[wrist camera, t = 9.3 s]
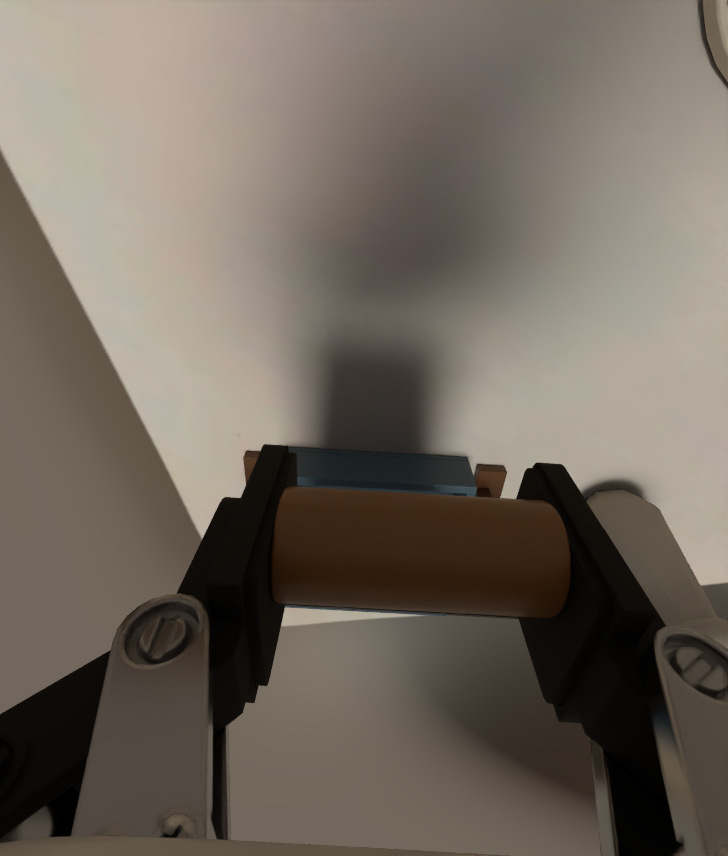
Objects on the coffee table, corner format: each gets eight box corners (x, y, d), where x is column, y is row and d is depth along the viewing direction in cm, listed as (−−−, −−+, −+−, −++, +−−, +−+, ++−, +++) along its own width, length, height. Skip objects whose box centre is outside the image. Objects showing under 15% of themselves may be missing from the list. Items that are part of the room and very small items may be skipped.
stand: (245, 451, 31) (212, 522, 25) (504, 465, 31) (537, 540, 25) (251, 504, 34) (222, 581, 27) (490, 517, 34) (517, 597, 27)
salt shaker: (550, 519, 34) (638, 691, 22) (604, 467, 31) (734, 632, 20) (606, 546, 35) (716, 721, 24) (662, 498, 32) (815, 670, 21)
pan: (183, 447, 8) (147, 619, 7) (659, 474, 8) (694, 649, 7) (302, 546, 27) (297, 596, 26) (443, 554, 27) (443, 604, 26)
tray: (284, 446, 31) (274, 475, 28) (467, 456, 31) (477, 487, 28) (290, 572, 37) (283, 607, 34) (440, 581, 37) (446, 616, 34)
